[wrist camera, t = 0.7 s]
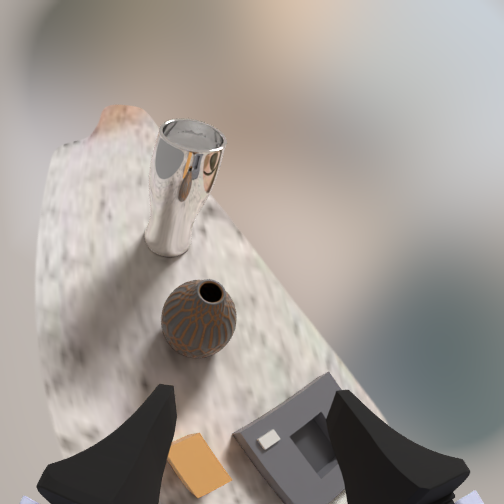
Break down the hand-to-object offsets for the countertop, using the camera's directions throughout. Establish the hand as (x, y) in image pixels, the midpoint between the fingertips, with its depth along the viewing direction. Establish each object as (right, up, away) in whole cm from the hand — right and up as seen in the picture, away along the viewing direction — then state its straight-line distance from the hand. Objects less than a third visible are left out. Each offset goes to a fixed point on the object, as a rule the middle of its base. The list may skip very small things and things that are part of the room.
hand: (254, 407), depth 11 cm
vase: (-6, -2, +17) cm, 18 cm away
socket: (+6, -13, +13) cm, 19 cm away
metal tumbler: (-11, +8, +24) cm, 27 cm away
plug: (-6, -12, +8) cm, 16 cm away
